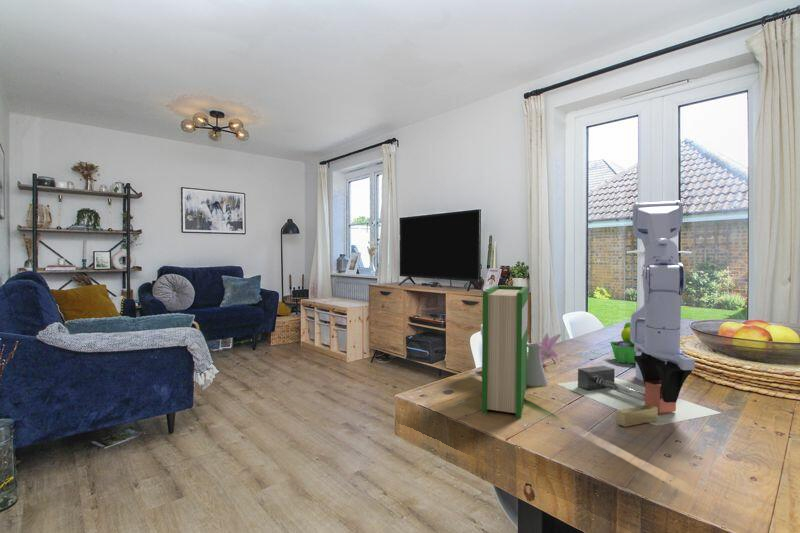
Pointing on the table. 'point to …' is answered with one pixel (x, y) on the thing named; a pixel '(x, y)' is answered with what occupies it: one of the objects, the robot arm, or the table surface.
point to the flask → (535, 366)
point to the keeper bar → (637, 415)
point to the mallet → (643, 394)
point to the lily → (548, 348)
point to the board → (641, 402)
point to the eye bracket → (594, 377)
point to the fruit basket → (624, 347)
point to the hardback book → (504, 349)
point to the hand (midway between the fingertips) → (660, 397)
